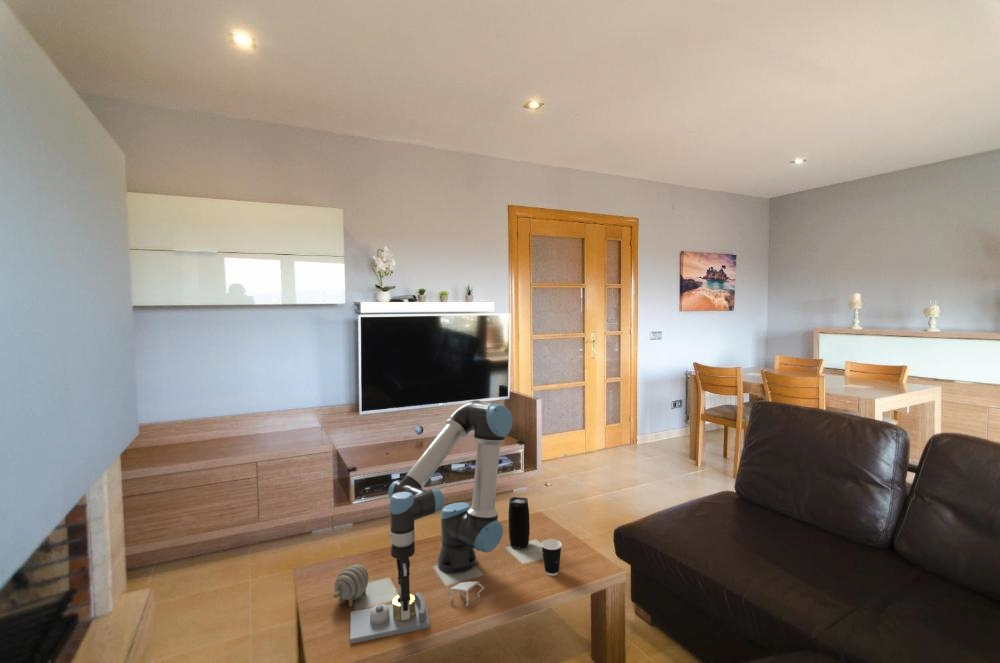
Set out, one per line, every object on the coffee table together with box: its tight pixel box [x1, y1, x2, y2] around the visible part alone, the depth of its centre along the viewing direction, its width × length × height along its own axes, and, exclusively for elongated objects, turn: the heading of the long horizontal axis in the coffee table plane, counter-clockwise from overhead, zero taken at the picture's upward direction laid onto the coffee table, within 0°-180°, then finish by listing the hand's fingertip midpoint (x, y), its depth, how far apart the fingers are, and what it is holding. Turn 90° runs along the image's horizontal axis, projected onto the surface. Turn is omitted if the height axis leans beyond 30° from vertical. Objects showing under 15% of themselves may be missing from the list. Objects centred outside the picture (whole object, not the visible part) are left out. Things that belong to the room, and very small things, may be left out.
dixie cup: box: [540, 538, 563, 577], centre depth 184 cm, size 8×8×11 cm
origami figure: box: [447, 581, 485, 607], centre depth 168 cm, size 12×8×5 cm
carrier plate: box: [349, 591, 431, 644], centre depth 157 cm, size 24×14×5 cm, turn 106°
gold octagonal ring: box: [392, 593, 416, 622], centre depth 158 cm, size 7×7×5 cm
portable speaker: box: [508, 496, 531, 550], centre depth 206 cm, size 9×9×20 cm
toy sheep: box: [333, 564, 370, 608], centre depth 169 cm, size 11×17×11 cm, turn 165°
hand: (404, 611), depth 158 cm, fingers closed on gold octagonal ring, 7 cm apart
